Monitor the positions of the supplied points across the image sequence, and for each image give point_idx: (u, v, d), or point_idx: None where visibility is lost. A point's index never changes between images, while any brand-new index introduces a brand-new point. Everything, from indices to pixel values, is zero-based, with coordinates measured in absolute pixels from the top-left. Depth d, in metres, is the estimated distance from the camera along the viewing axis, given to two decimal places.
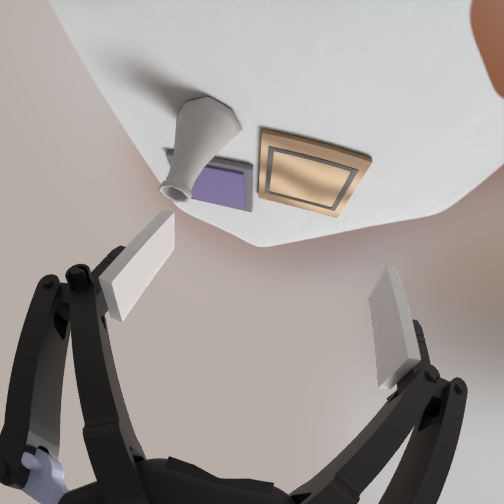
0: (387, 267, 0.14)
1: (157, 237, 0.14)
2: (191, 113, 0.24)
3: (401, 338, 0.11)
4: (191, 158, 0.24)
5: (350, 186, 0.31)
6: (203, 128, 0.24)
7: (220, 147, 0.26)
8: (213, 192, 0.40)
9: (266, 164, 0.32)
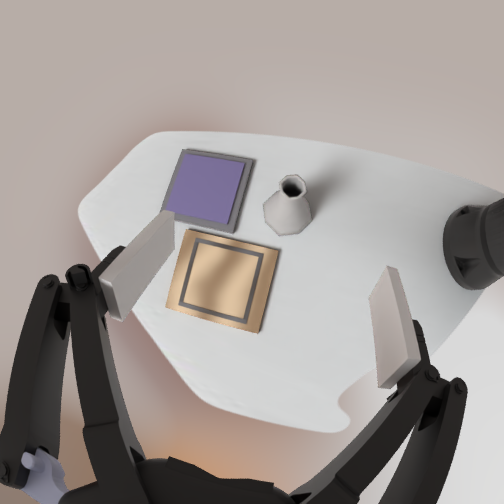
0: (387, 267, 0.14)
1: (157, 237, 0.14)
2: (307, 206, 0.38)
3: (401, 338, 0.11)
4: (299, 204, 0.33)
5: (222, 318, 0.38)
6: (303, 215, 0.37)
7: (284, 221, 0.36)
8: (196, 185, 0.40)
9: (240, 247, 0.39)
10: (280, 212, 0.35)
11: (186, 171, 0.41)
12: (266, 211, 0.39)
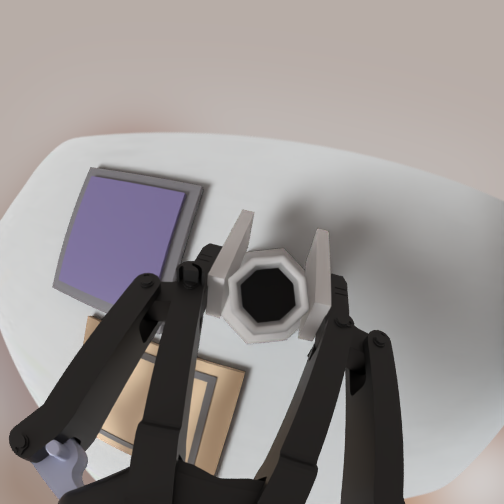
0: (317, 229, 0.17)
1: (245, 235, 0.15)
2: None
3: (314, 286, 0.13)
4: None
5: None
6: None
7: (255, 334, 0.16)
8: (100, 237, 0.20)
9: None
10: None
11: (89, 209, 0.21)
12: None
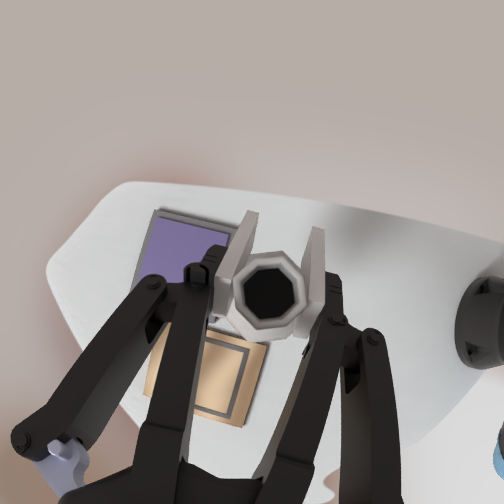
0: (313, 227, 0.17)
1: (250, 236, 0.16)
2: None
3: (308, 284, 0.13)
4: None
5: (203, 412, 0.30)
6: None
7: (256, 332, 0.17)
8: (169, 261, 0.33)
9: (222, 340, 0.32)
10: (246, 320, 0.16)
11: (158, 241, 0.34)
12: None
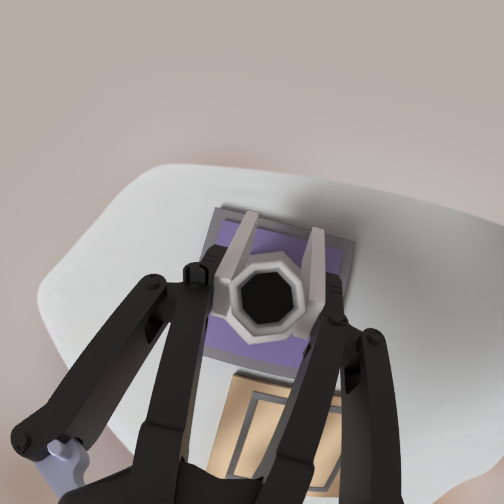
0: (313, 227, 0.17)
1: (250, 236, 0.16)
2: None
3: (308, 284, 0.13)
4: None
5: None
6: None
7: None
8: None
9: None
10: None
11: None
12: None
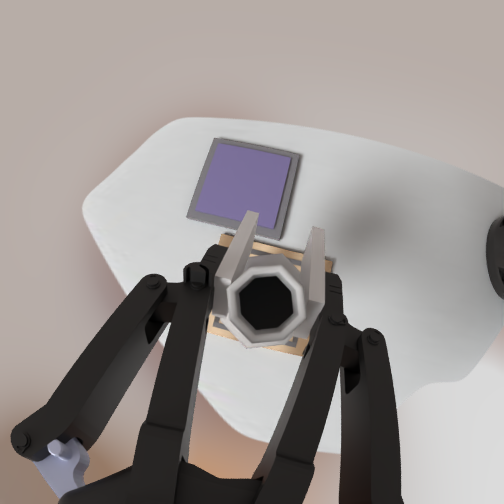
0: (313, 227, 0.17)
1: (250, 236, 0.16)
2: None
3: (308, 284, 0.13)
4: None
5: None
6: None
7: None
8: (233, 181, 0.34)
9: (289, 257, 0.33)
10: None
11: (220, 164, 0.34)
12: None
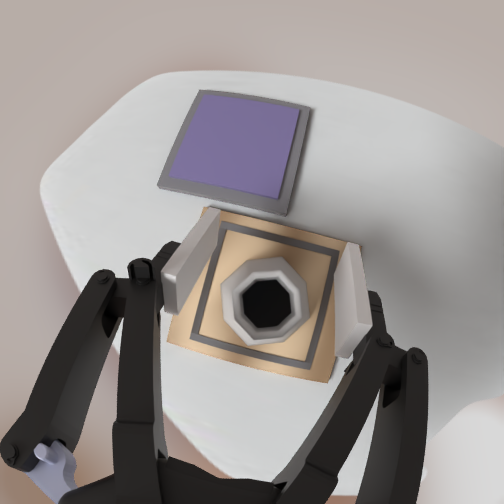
0: (348, 243, 0.16)
1: (208, 233, 0.15)
2: (303, 297, 0.20)
3: (353, 305, 0.12)
4: None
5: (268, 362, 0.21)
6: None
7: None
8: (222, 137, 0.24)
9: (300, 239, 0.22)
10: None
11: (206, 117, 0.24)
12: (224, 303, 0.20)
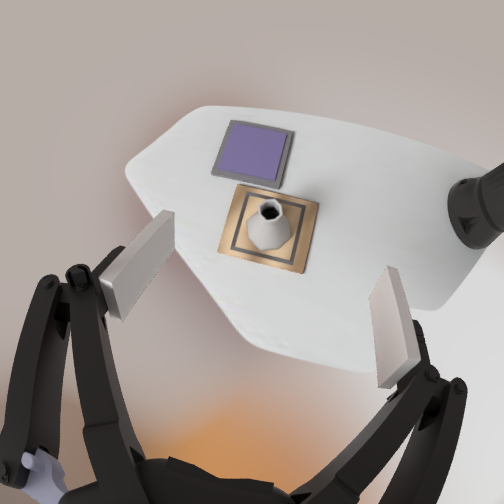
0: (387, 267, 0.14)
1: (157, 237, 0.14)
2: (287, 224, 0.42)
3: (401, 338, 0.11)
4: (277, 224, 0.37)
5: (270, 260, 0.43)
6: (282, 233, 0.40)
7: (264, 239, 0.40)
8: (245, 149, 0.46)
9: (285, 199, 0.45)
10: (260, 231, 0.39)
11: (236, 137, 0.46)
12: (248, 228, 0.43)
